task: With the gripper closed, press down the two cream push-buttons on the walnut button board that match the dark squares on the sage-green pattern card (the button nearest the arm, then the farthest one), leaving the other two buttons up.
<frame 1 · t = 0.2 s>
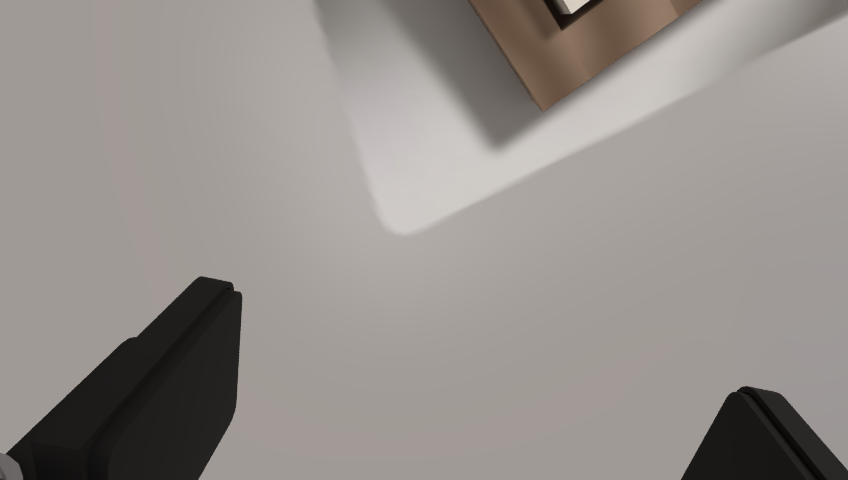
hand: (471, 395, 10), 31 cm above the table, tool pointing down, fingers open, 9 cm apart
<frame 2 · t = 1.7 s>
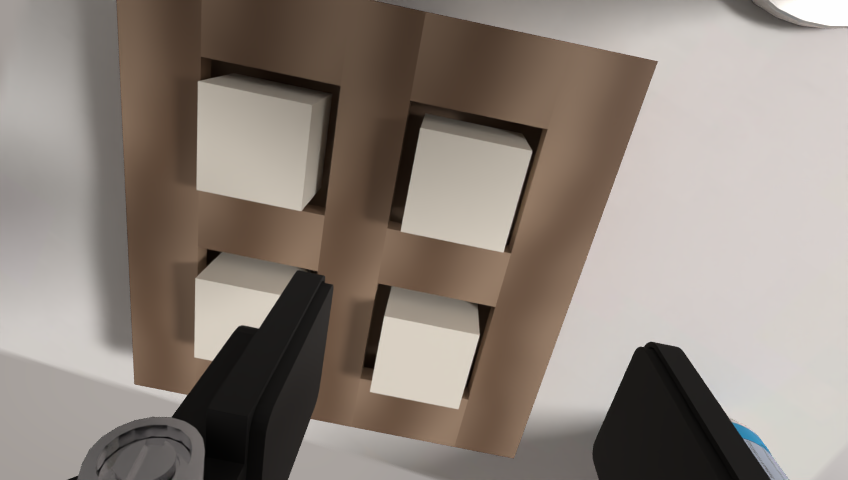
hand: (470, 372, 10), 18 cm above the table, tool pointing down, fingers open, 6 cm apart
beverage bottle: (694, 456, 34), on the table
button d: (424, 343, 26), point 4 cm above the table, slide at 0.0 cm
button c: (266, 140, 23), point 4 cm above the table, slide at 0.0 cm
button a: (463, 181, 23), point 4 cm above the table, slide at 0.0 cm
button b: (254, 309, 26), point 4 cm above the table, slide at 0.0 cm
board: (365, 220, 28), on the table
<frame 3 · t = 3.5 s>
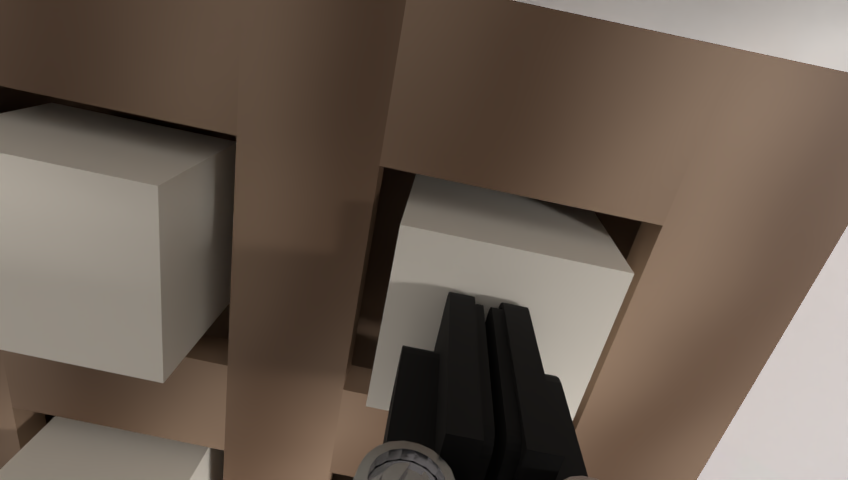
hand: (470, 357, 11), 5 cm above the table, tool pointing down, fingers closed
button c: (104, 235, 12), point 4 cm above the table, slide at 0.0 cm
button a: (485, 302, 12), point 3 cm above the table, slide at 0.6 cm, touching gripper
board: (320, 335, 17), on the table
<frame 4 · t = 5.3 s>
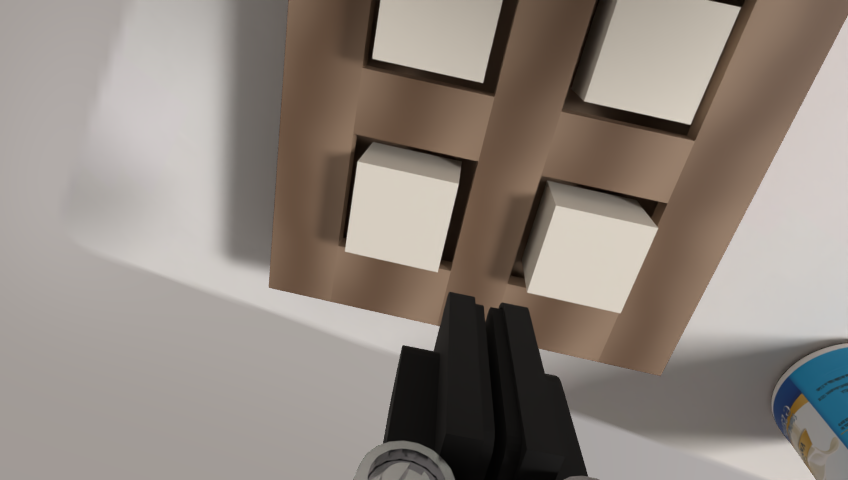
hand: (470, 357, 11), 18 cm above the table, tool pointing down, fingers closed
beverage bottle: (836, 389, 32), on the table
button d: (582, 245, 25), point 4 cm above the table, slide at 0.0 cm
button c: (442, 9, 21), point 4 cm above the table, slide at 0.0 cm
button a: (646, 52, 22), point 3 cm above the table, slide at 1.2 cm
button b: (404, 205, 25), point 4 cm above the table, slide at 0.0 cm
board: (513, 119, 26), on the table
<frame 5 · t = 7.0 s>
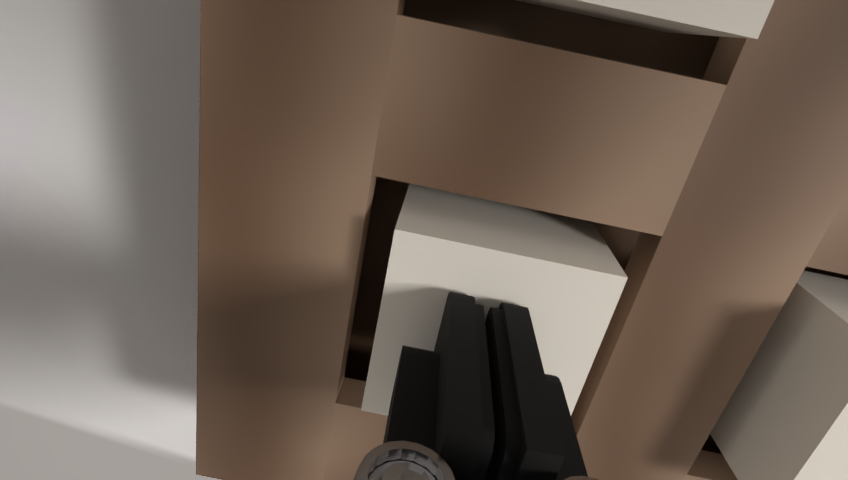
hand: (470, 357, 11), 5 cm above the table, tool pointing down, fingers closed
button b: (480, 306, 12), point 3 cm above the table, slide at 0.9 cm, touching gripper
board: (684, 136, 13), on the table
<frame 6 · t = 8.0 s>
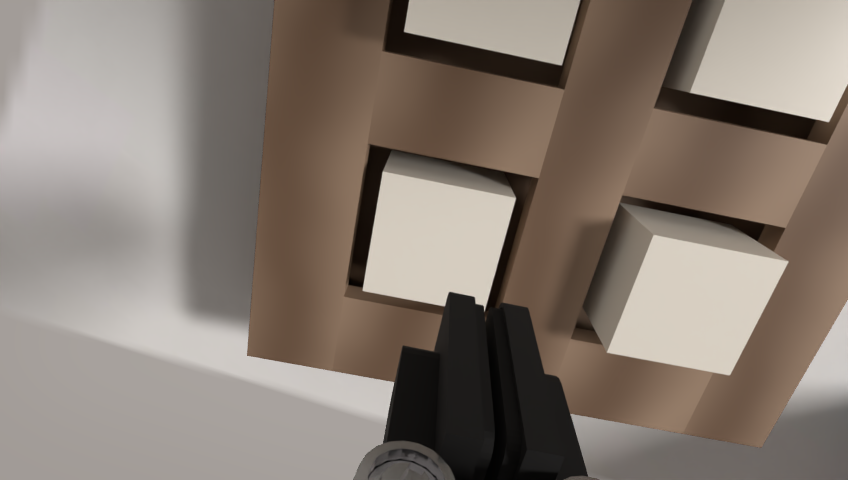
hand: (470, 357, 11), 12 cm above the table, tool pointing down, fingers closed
button d: (671, 285, 19), point 4 cm above the table, slide at 0.0 cm
button a: (759, 30, 17), point 3 cm above the table, slide at 1.2 cm
button b: (436, 229, 20), point 3 cm above the table, slide at 1.1 cm
board: (566, 125, 21), on the table
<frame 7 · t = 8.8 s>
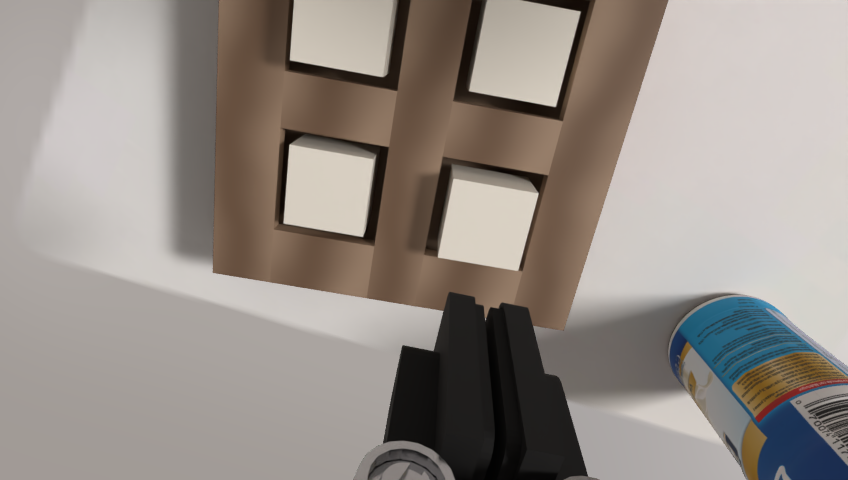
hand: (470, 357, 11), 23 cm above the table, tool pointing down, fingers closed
beverage bottle: (721, 340, 36), on the table
button d: (484, 216, 29), point 4 cm above the table, slide at 0.0 cm
button c: (347, 19, 26), point 4 cm above the table, slide at 0.0 cm
button a: (518, 52, 27), point 3 cm above the table, slide at 1.2 cm
button b: (333, 184, 30), point 3 cm above the table, slide at 1.1 cm
board: (422, 114, 31), on the table
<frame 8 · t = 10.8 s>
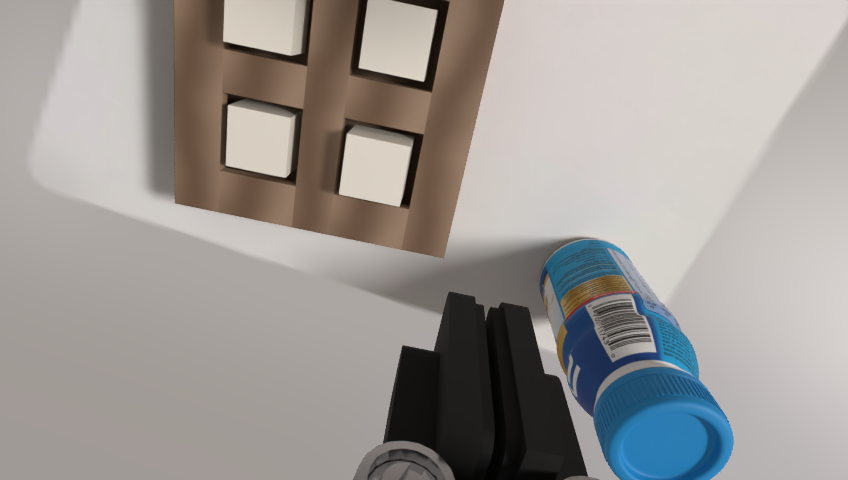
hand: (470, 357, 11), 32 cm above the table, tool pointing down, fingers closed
beverage bottle: (583, 276, 45), on the table
button d: (377, 164, 38), point 4 cm above the table, slide at 0.0 cm
button c: (268, 12, 34), point 4 cm above the table, slide at 0.0 cm
button a: (399, 39, 36), point 3 cm above the table, slide at 1.2 cm
button b: (265, 137, 39), point 3 cm above the table, slide at 1.1 cm
board: (337, 86, 40), on the table
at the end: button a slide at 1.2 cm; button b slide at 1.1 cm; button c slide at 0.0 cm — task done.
